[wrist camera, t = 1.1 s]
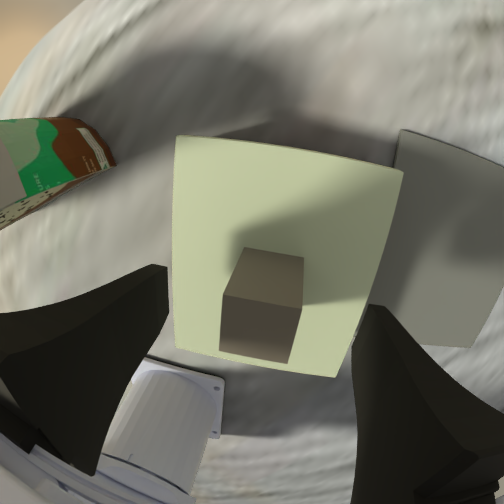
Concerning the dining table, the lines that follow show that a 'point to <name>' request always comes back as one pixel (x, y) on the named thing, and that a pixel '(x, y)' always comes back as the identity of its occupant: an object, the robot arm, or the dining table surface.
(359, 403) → the robot arm
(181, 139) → the lid
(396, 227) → the mat
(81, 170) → the food container
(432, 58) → the dining table surface
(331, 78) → the dining table surface
